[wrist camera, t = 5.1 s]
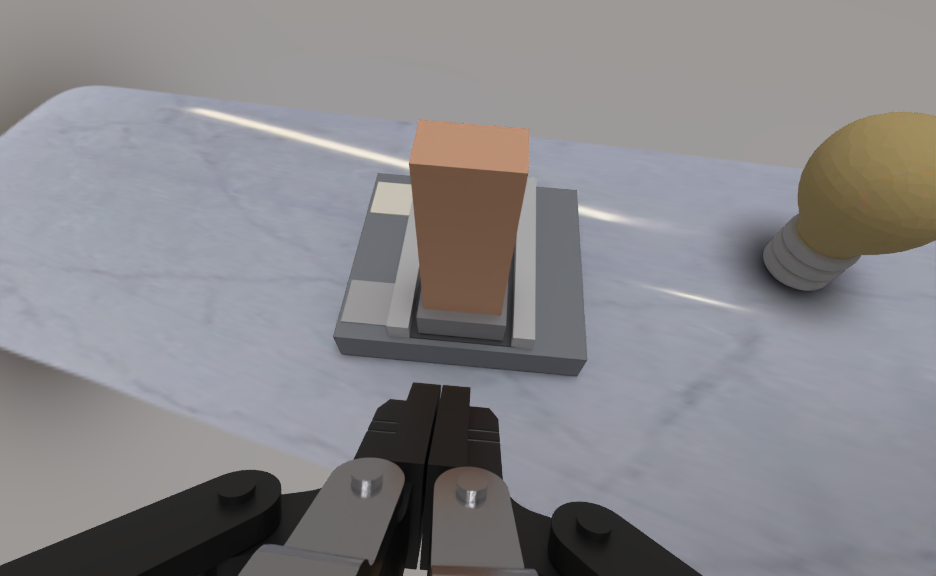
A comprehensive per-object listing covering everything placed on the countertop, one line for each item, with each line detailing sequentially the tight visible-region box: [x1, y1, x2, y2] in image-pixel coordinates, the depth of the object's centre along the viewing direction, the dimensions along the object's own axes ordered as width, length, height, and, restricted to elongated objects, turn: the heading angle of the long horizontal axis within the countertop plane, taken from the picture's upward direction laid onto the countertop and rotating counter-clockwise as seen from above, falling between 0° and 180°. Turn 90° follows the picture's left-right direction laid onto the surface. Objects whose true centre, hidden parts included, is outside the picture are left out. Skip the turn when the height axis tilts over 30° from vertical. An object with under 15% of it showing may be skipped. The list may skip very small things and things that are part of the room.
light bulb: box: [763, 112, 936, 291], centre depth 23 cm, size 6×6×10 cm
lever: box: [409, 120, 529, 341], centre depth 18 cm, size 4×3×10 cm
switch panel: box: [333, 173, 587, 376], centre depth 25 cm, size 12×11×3 cm
